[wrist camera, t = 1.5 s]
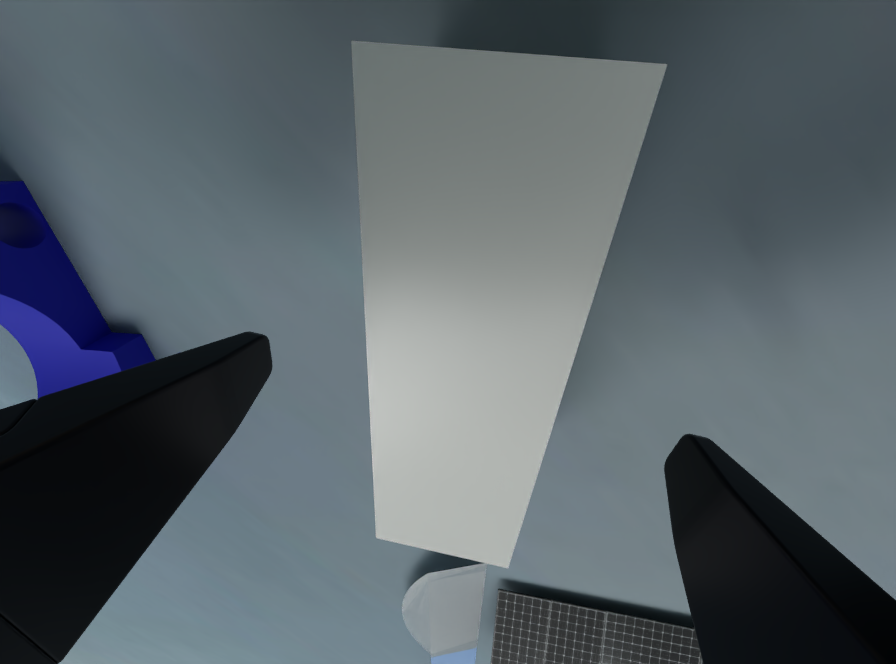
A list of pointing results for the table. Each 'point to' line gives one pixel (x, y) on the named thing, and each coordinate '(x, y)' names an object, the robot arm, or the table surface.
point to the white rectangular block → (481, 269)
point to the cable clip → (54, 303)
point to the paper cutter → (534, 627)
